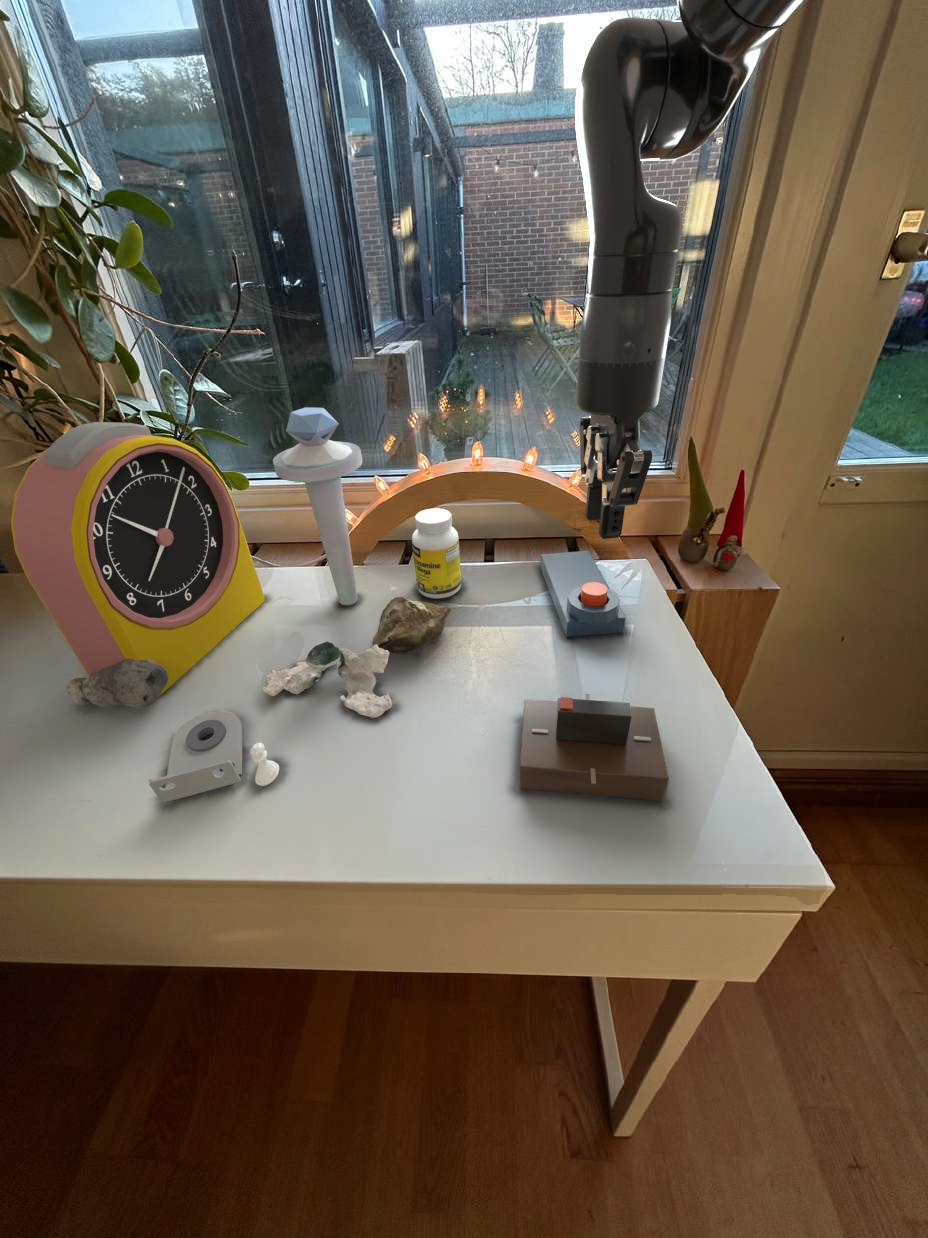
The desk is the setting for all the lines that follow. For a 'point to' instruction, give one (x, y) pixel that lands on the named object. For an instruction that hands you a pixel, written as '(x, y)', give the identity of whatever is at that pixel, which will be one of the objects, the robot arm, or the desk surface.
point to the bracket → (202, 756)
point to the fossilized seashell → (409, 625)
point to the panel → (592, 757)
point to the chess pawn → (263, 765)
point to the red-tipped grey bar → (593, 721)
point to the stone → (120, 685)
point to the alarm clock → (133, 547)
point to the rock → (349, 668)
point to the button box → (579, 594)
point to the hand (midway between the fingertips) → (602, 526)
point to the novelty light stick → (324, 487)
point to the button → (594, 594)
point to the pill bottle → (436, 554)
